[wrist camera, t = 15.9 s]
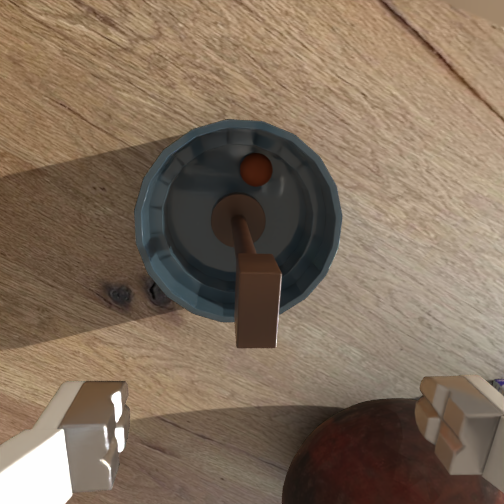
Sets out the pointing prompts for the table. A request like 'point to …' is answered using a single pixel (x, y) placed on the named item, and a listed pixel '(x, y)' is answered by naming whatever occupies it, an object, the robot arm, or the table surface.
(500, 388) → the box
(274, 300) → the brown wooden masher
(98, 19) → the table surface
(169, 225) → the bowl
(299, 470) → the jug
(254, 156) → the ball
